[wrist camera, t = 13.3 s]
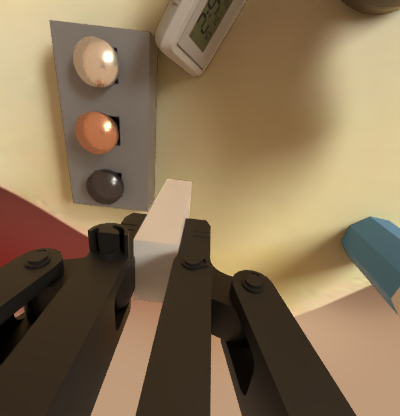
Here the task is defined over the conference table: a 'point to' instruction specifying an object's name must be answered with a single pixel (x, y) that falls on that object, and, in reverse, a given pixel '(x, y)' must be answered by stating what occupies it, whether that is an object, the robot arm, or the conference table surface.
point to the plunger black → (105, 186)
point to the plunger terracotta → (97, 132)
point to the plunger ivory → (96, 62)
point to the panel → (111, 111)
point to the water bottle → (377, 255)
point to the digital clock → (195, 31)
